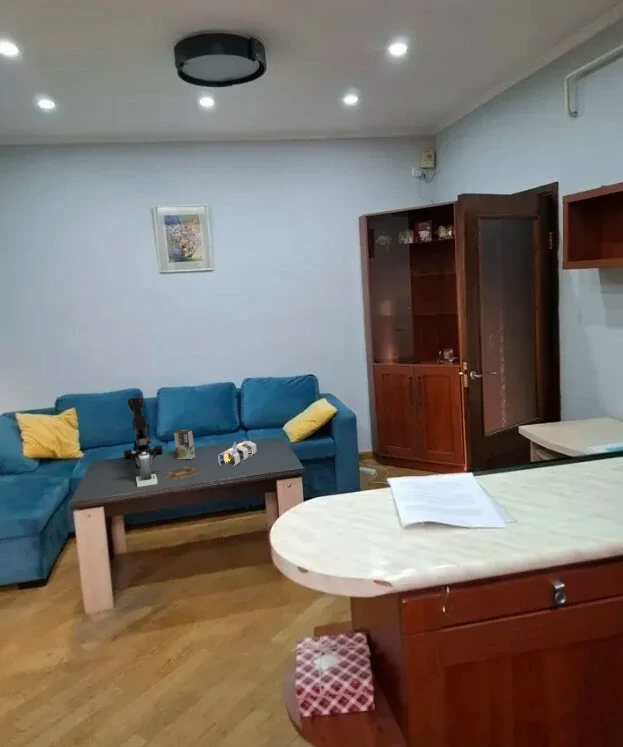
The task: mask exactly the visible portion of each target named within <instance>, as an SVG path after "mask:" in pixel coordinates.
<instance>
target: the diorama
mask: <svg viewBox="0 0 623 747" xmlns="http://www.w3.org/2000/svg"><path fill="white" fill-rule="evenodd" d="M241 453H243V454H241ZM248 453H252V454H250V457H253V456H254V455H256V453H257V443H255V442H252V441H251V440H244V441H241V442H240V443H238V444H236V441H234V442H233V445H232V446H231V448H229V449H227V450H225V451H223V452H221V453H220V454H218V457H217V458H218V464H219V465H220V466H222V465H224V464H227V463H229V462H231V461H232V460H231V459H233V458H234V459H233V460H234V465H233V467H234V466H235V465H236V466H238V465H239V464H238V463H240V462H241V457H240V456H241V455H243V458H242V460H245V459H246V460H248V458H249V454H248ZM239 454H241V455H239ZM253 454H254V455H253ZM252 455H253V456H252ZM230 460H231V461H230ZM246 460H245V461H246ZM228 461H229V462H228ZM226 462H227V463H226ZM237 464H238V465H237ZM236 466H235V467H236Z"/></svg>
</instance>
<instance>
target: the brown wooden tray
mask: <svg viewBox="0 0 623 747" xmlns="http://www.w3.org/2000/svg"><path fill="white" fill-rule="evenodd" d="M199 474H200V472H198V470H197V469H195V468H191V467H186V466H181V467H178V468H176V469H172V470H170V471H166V475H164V477H165V478H168V479H169V478H170V479H172V480H173V479H174V480H178V481H182V480H185V479H188V478H190V477H194V476H195V475H199Z"/></svg>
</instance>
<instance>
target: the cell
mask: <svg viewBox="0 0 623 747" xmlns="http://www.w3.org/2000/svg"><path fill="white" fill-rule="evenodd" d="M139 462H140V468H139V469H140V470H139V471H140V476H141V480H150V479H152V477H151V474H152V469H151V467H152V466H150V456H149V453H148V452H142V453H140V454H139Z"/></svg>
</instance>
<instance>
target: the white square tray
mask: <svg viewBox="0 0 623 747" xmlns="http://www.w3.org/2000/svg"><path fill="white" fill-rule="evenodd" d="M151 477H152V479H150V480H141V475H139V476H136V477H135V480H136V481H135V482H136V485H137V488H140V487H146V486H147V487H148V486H151V485H158V477H157V474H156V473H151Z"/></svg>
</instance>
